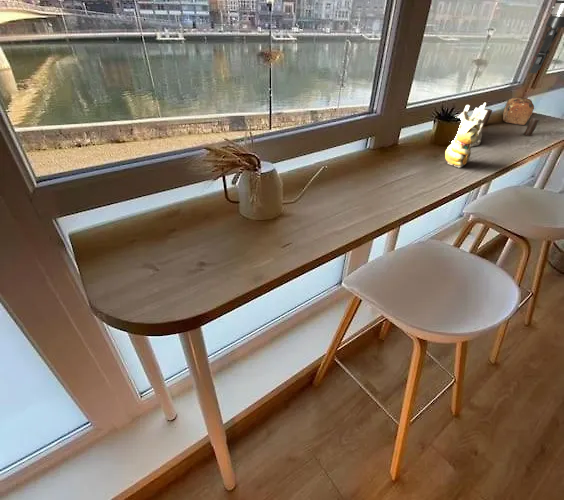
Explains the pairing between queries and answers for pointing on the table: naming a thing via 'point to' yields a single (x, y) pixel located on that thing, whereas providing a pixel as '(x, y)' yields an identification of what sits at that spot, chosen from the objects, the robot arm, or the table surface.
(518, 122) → the bread
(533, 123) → the dark brown pieces
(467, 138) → the decorative figurine
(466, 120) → the white pronged sculpture
